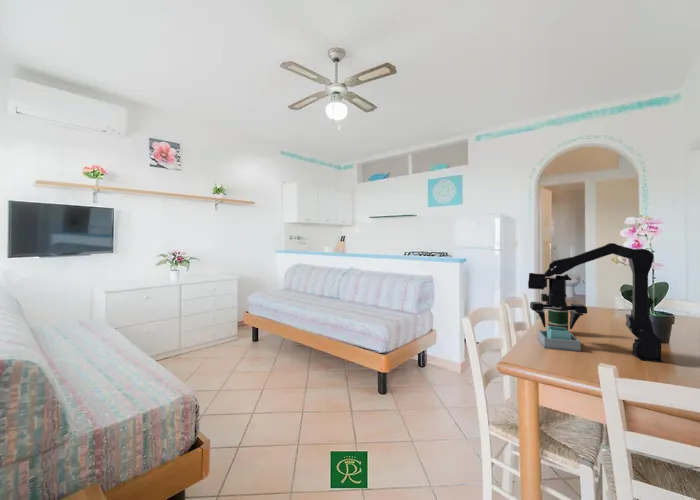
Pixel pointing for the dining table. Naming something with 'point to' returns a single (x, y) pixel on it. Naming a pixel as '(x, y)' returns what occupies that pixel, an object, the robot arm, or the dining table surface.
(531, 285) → the robot arm
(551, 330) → the small crate
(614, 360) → the dining table surface
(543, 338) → the big crate
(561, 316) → the beer bottle
